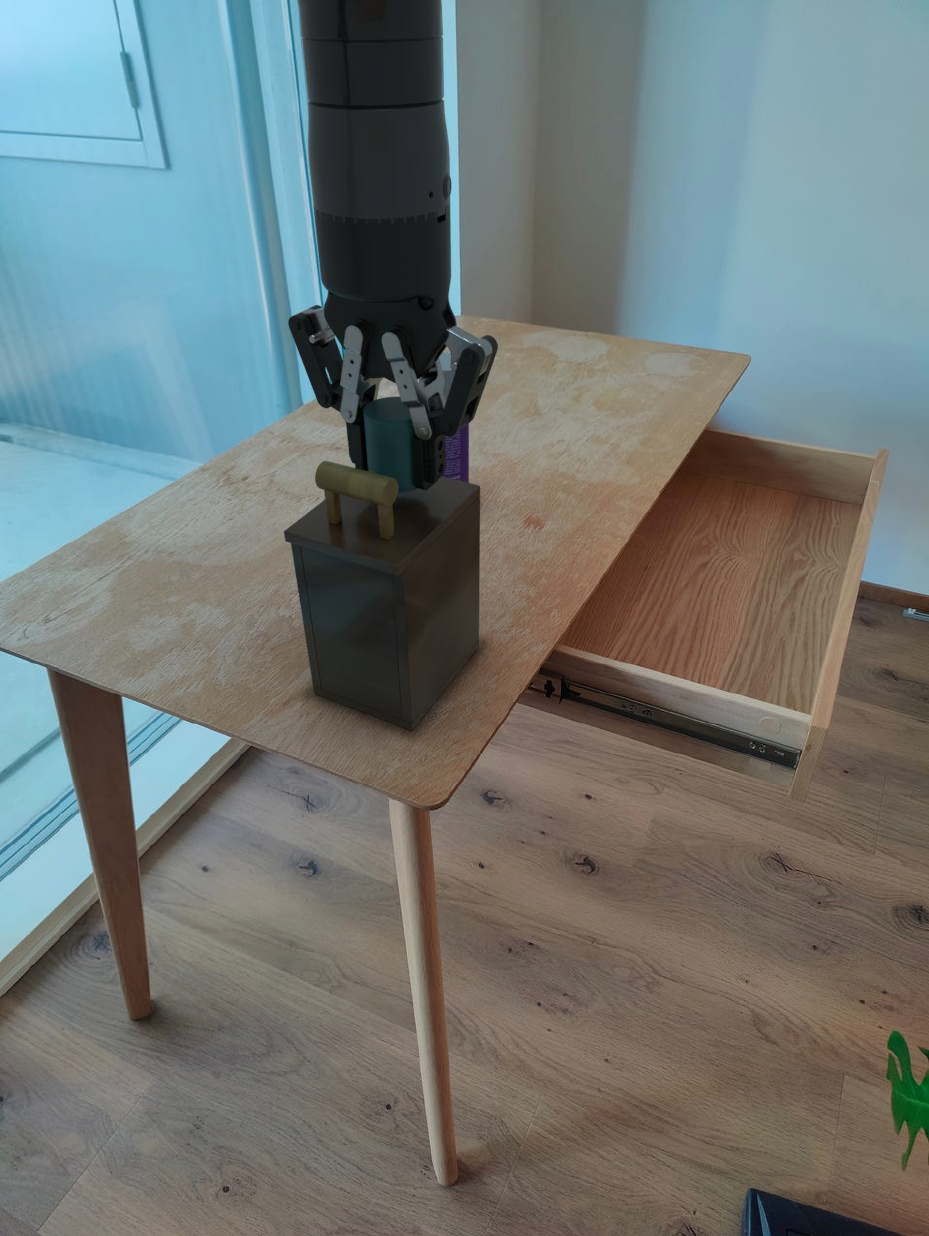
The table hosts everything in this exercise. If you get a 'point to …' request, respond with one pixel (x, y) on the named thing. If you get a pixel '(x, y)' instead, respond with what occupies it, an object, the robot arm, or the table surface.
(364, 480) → the lid
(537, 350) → the table surface
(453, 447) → the container
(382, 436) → the teal cylinder
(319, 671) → the chest
